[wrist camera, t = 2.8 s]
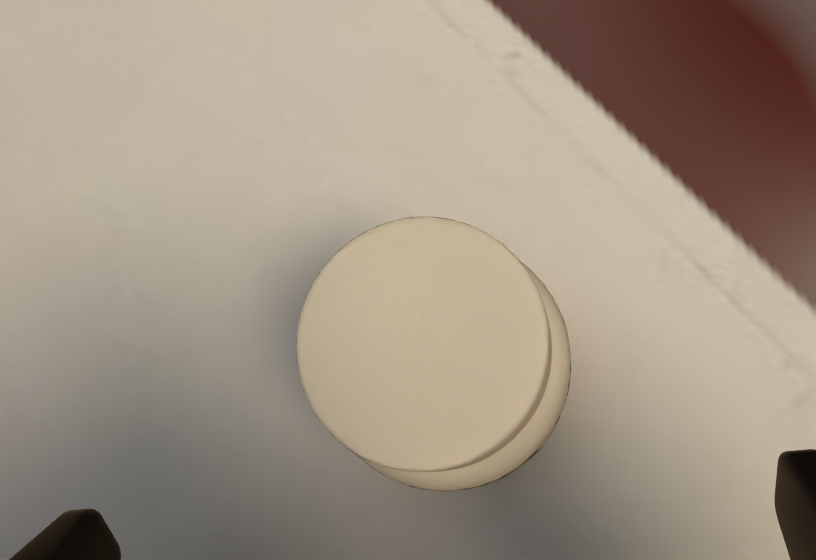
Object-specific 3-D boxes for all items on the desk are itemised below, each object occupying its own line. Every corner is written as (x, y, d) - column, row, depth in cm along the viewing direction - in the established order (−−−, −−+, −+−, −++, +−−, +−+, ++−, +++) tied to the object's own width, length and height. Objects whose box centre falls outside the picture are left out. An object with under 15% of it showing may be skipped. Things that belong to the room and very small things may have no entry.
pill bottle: (443, 263, 20) (375, 140, 12) (599, 355, 19) (637, 285, 11) (348, 412, 20) (213, 386, 12) (501, 517, 19) (466, 566, 11)
